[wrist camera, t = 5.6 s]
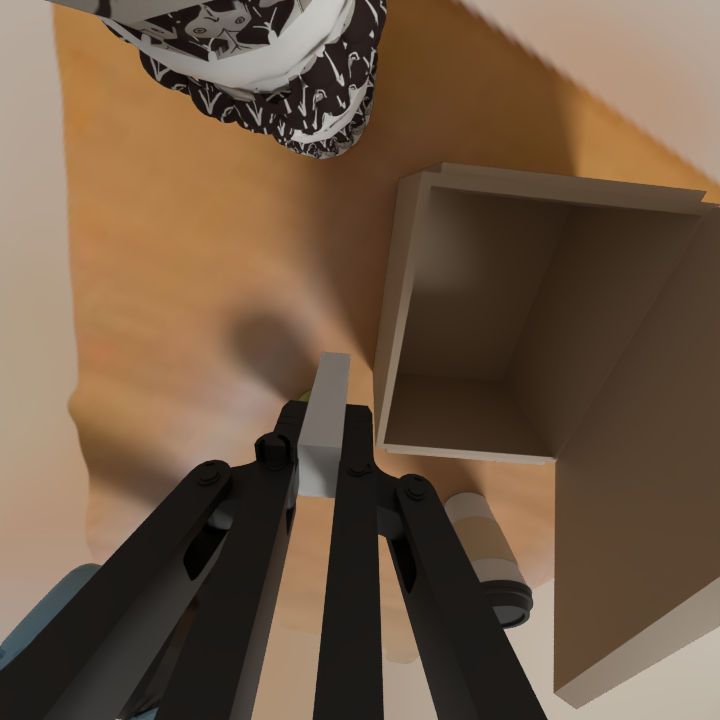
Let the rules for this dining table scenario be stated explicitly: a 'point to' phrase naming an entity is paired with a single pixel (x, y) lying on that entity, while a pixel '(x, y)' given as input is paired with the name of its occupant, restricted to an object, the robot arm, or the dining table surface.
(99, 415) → the dining table surface
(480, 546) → the coffee cup
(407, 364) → the carton
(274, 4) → the decorative candle
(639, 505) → the flap
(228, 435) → the dining table surface
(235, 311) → the dining table surface
